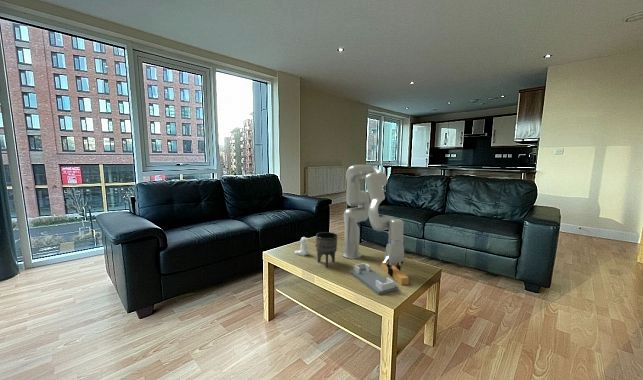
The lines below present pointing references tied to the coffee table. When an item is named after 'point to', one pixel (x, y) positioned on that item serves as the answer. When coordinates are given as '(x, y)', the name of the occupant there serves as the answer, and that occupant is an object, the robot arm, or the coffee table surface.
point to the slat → (397, 274)
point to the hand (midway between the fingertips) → (394, 273)
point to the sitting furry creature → (303, 247)
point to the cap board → (373, 279)
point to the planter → (326, 245)
